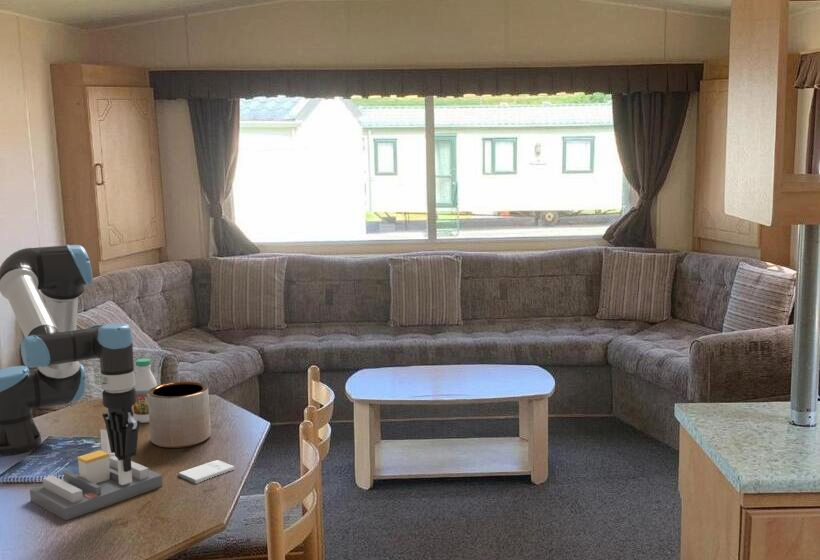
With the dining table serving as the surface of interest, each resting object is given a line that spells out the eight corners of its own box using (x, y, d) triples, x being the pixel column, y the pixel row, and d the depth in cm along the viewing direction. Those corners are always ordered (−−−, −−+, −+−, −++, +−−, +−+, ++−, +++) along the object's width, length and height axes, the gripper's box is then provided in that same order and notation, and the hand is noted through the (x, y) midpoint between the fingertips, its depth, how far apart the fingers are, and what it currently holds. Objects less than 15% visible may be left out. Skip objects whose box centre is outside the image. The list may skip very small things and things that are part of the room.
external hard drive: (178, 478, 222) (216, 464, 231) (195, 485, 216) (234, 471, 226) (177, 472, 221) (216, 458, 231) (195, 479, 216) (234, 465, 225)
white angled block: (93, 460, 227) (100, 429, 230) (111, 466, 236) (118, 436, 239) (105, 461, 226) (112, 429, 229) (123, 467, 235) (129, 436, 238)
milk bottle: (134, 417, 272) (130, 358, 269) (159, 414, 274) (155, 356, 271) (134, 424, 265) (130, 363, 262) (159, 421, 267) (155, 361, 264)
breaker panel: (30, 500, 207) (28, 480, 206) (125, 469, 227) (123, 450, 226) (66, 520, 196) (64, 498, 195) (162, 486, 215) (161, 466, 214)
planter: (215, 444, 245) (212, 393, 243) (153, 453, 239) (149, 400, 237) (206, 426, 262) (204, 378, 259) (148, 434, 255) (144, 385, 253)
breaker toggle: (79, 482, 210) (77, 456, 209) (102, 475, 215) (100, 450, 214) (87, 486, 208) (85, 460, 206) (110, 479, 212) (108, 453, 211)
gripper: (90, 387, 199) (97, 481, 202) (119, 397, 190) (126, 494, 194) (118, 380, 204) (125, 471, 208) (148, 389, 196) (154, 484, 200)
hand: (125, 482), depth 201 cm, fingers closed
